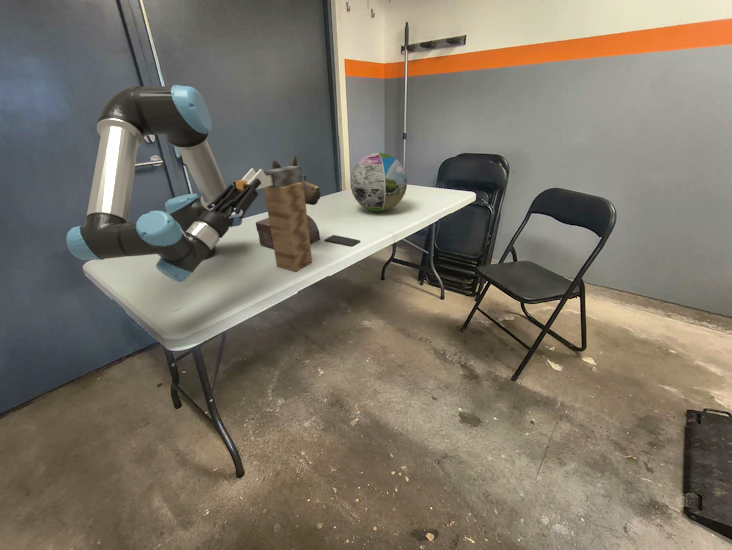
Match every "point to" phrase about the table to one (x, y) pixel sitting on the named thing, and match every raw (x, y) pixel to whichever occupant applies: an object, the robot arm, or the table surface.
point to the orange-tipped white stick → (266, 182)
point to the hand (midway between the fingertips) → (259, 172)
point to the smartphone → (342, 240)
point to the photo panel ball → (378, 182)
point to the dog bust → (310, 198)
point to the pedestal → (288, 218)
